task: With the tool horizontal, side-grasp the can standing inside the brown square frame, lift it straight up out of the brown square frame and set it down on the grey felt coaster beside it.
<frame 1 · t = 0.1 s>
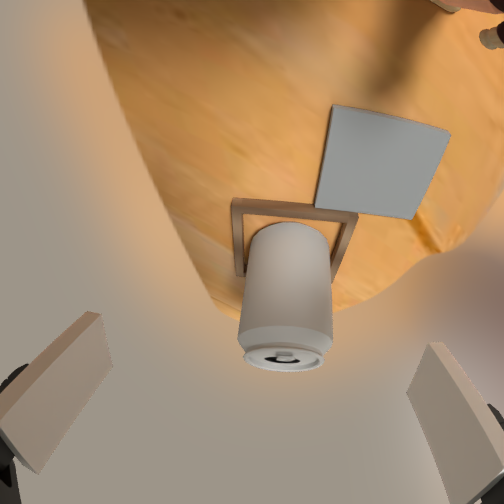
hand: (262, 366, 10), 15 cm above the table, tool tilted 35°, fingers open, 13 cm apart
can: (290, 240, 28), resting in brown square frame
coaster: (379, 167, 20), on the table
brown square frame: (290, 242, 28), on the table
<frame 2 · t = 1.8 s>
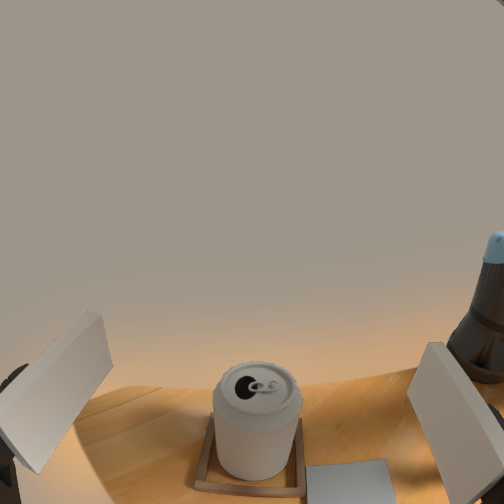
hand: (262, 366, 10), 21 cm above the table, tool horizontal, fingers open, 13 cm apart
can: (252, 457, 25), resting in brown square frame
coaster: (351, 498, 19), on the table
brown square frame: (252, 456, 25), on the table
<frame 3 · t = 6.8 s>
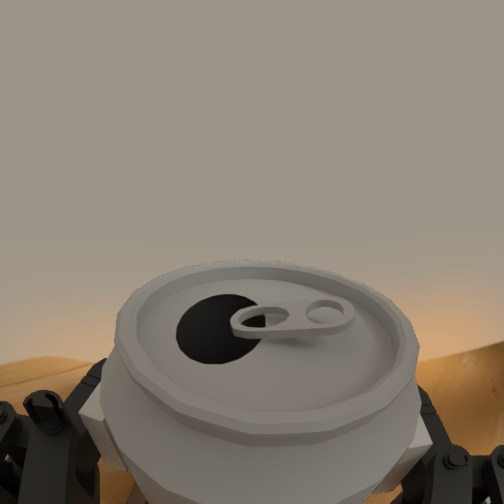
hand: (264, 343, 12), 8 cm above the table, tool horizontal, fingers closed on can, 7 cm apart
when the fingers open (9 cm above the table, at t = 11.7 s): can stays where it is, resting on coaster.
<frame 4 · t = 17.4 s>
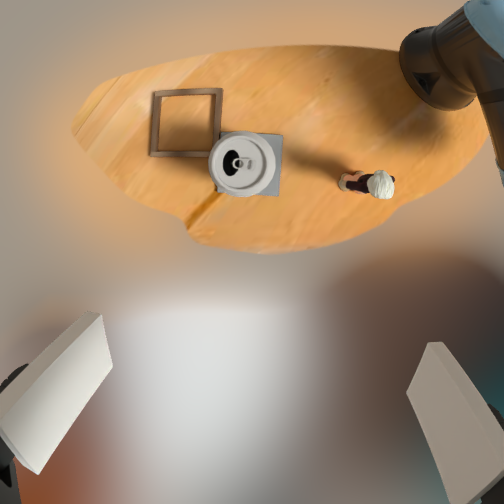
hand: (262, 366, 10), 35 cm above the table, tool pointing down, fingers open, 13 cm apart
can: (249, 164, 41), resting on coaster
coaster: (250, 163, 42), on the table
grandmother figurine: (356, 180, 41), on the table
brown square frame: (186, 122, 40), on the table
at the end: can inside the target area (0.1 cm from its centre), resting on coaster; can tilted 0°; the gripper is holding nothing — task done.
